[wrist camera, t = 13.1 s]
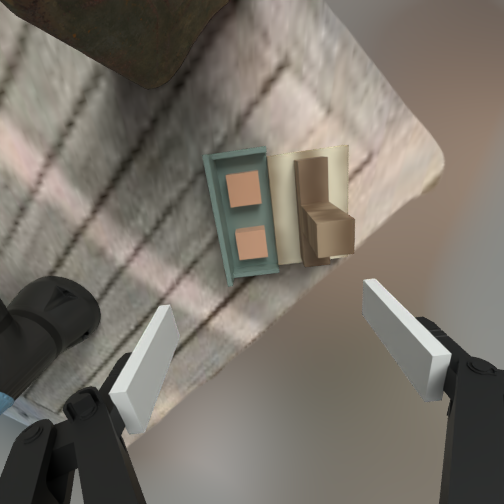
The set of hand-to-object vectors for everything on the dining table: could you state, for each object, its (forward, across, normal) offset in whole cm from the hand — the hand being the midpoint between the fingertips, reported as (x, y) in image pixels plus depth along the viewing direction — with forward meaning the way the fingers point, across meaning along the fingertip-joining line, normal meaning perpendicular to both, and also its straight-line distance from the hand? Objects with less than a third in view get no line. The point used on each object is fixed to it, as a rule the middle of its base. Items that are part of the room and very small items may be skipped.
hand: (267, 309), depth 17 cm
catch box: (+28, +2, 0) cm, 29 cm away
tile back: (+28, +1, +5) cm, 28 cm away
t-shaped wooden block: (+25, -9, 0) cm, 27 cm away
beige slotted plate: (+28, -9, 0) cm, 30 cm away
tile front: (+28, +1, -5) cm, 28 cm away
